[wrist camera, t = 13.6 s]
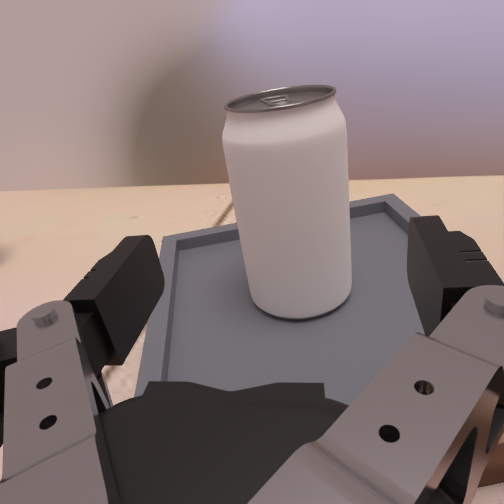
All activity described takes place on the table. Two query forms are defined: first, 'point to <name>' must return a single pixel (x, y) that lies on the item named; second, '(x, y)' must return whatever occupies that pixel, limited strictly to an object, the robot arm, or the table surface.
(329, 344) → the tray
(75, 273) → the table surface
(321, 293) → the can
